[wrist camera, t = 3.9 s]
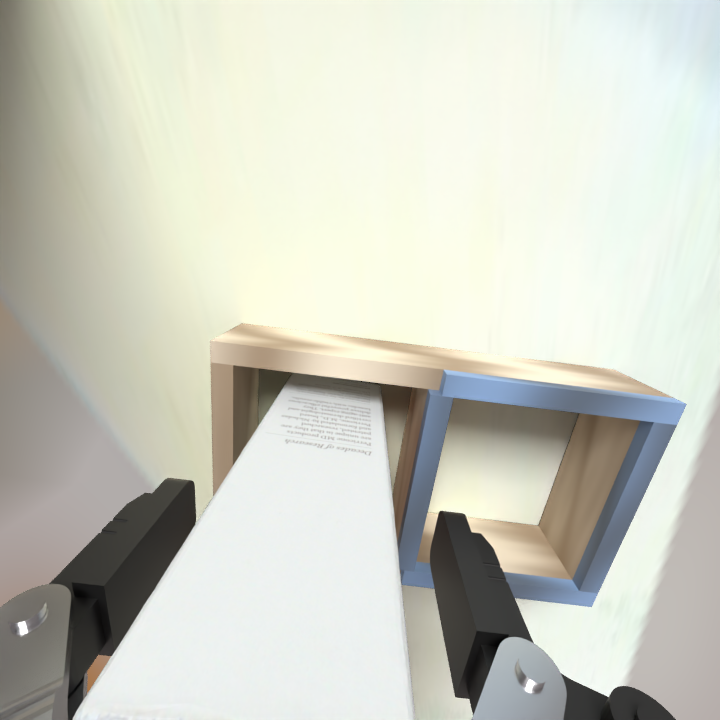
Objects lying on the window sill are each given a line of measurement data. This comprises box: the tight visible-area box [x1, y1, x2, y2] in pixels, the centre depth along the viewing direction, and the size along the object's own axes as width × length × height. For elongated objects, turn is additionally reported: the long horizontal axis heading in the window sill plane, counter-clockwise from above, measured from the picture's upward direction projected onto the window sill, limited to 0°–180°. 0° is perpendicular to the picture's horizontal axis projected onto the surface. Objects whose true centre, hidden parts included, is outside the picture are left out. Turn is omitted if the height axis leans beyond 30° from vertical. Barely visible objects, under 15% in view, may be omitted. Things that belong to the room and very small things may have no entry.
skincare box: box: [73, 373, 415, 720], centre depth 10 cm, size 6×4×12 cm
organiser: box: [210, 323, 687, 607], centre depth 14 cm, size 16×10×4 cm, turn 83°
